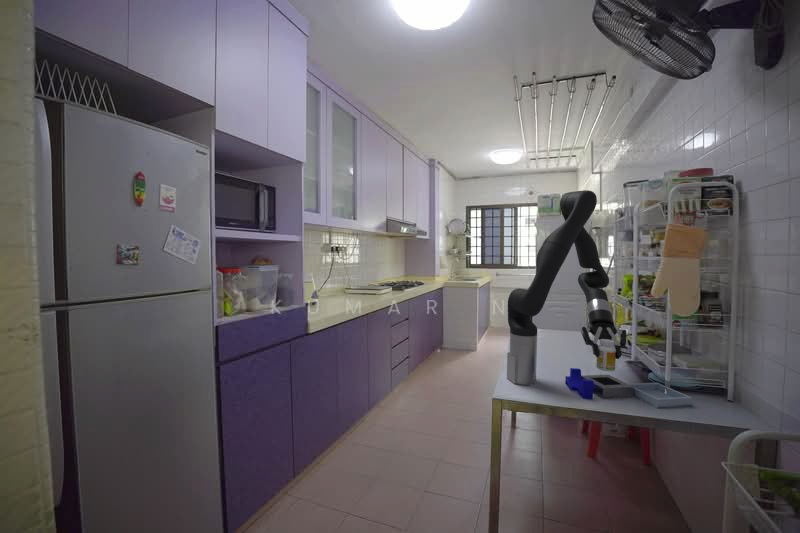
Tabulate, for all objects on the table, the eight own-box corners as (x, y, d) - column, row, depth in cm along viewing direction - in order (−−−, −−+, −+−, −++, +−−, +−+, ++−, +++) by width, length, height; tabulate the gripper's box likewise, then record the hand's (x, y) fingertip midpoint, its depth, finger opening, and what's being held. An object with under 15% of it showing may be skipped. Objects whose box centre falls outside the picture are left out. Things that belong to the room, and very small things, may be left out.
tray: (656, 408, 101) (657, 399, 101) (625, 391, 113) (625, 384, 113) (691, 406, 103) (692, 397, 103) (656, 390, 115) (657, 382, 115)
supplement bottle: (616, 368, 114) (617, 340, 113) (613, 373, 109) (615, 343, 109) (597, 365, 117) (599, 337, 117) (594, 369, 113) (596, 340, 112)
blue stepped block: (565, 384, 120) (565, 367, 119) (578, 385, 119) (579, 368, 119) (577, 398, 108) (578, 380, 108) (592, 400, 107) (593, 381, 107)
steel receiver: (602, 399, 107) (602, 388, 107) (579, 385, 118) (580, 375, 118) (633, 397, 109) (633, 386, 109) (608, 384, 120) (608, 374, 120)
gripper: (579, 307, 122) (585, 348, 111) (625, 309, 117) (636, 353, 107) (576, 318, 127) (581, 359, 116) (619, 322, 123) (629, 364, 112)
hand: (607, 356), depth 111 cm, fingers closed on supplement bottle, 5 cm apart
